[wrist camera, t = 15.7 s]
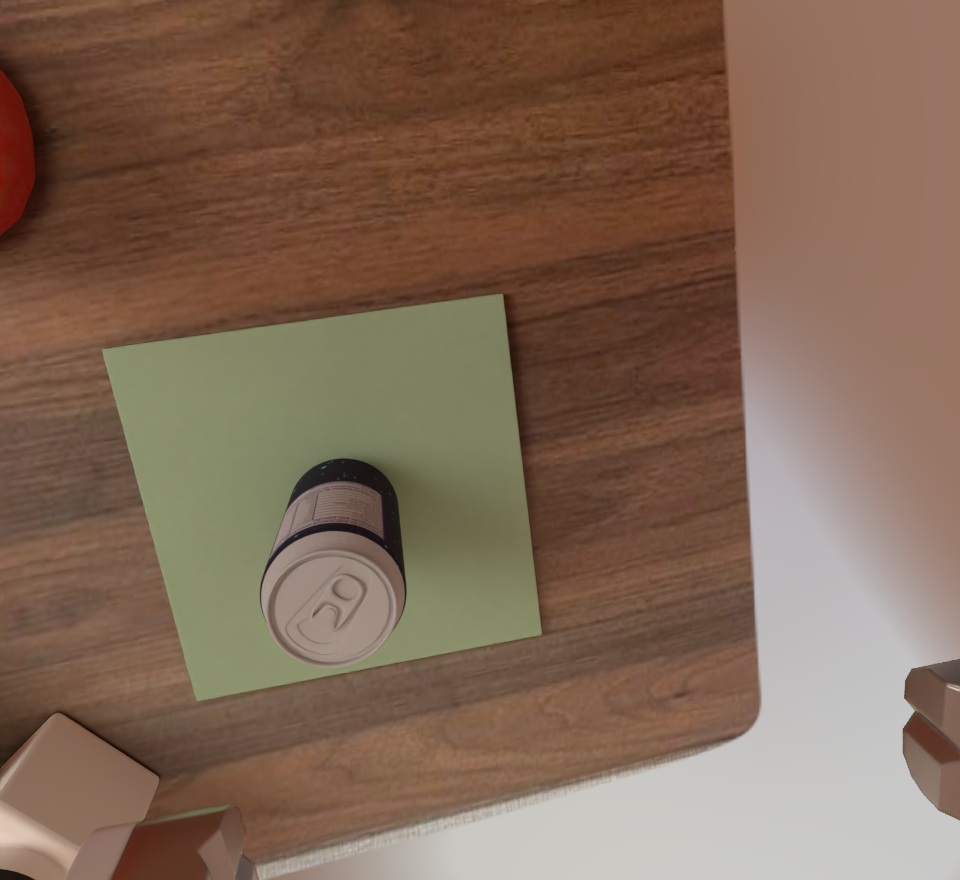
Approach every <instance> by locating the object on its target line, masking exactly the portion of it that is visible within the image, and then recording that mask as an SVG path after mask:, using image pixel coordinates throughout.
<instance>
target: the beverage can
mask: <svg viewBox="0 0 960 880" xmlns="http://www.w3.org/2000/svg"><path fill="white" fill-rule="evenodd" d="M406 596H407V588H406V577H405V567H404V557H403V547H402V537H401V527H400V517H399V507H398V499H397V495H396V492H395V490H394V488H393V486H392V484H391V483H390V481H389V480H388V479H387V477H386V476H385V475H384V474H383V473H382V472H381V471H379V470H378V469H377V468H375V467H374V466H372V465H370V464H368V463H365V462H363V461H359V460H355V459H347V458H340V459H333V460H328V461H325V462H322V463H320V464H318V465H316V466H314V467H313V468H311V469H310V470H308V471H307V472H306V473H305V474H304V475H303V476H302V477H301V478H300V479H299V481H298V482H297V484H296V485H295V487H294V489H293V491H292V494H291V497H290V500H289V502H288V505H287V508H286V511H285V514H284V517H283V519H282V522H281V525H280V528H279V531H278V534H277V537H276V539H275V542H274V545H273V548H272V551H271V554H270V557H269V559H268V562H267V565H266V568H265V571H264V574H263V577H262V580H261V585H260V604H261V609H262V613H263V616H264V618H265V620H266V622H267V625H268V628H269V631H270V633H271V635H272V637H273V638H274V640H275V641H276V643H277V644H278V645H279V647H280V648H281V649H282V650H283V651H285V652H286V653H287V654H288V655H290V656H291V657H293V658H294V659H296V660H298V661H300V662H302V663H304V664H307V665H311V666H314V667H321V668H339V667H345V666H349V665H353V664H356V663H358V662H360V661H363V660H365V659H366V658H368V657H369V656H371V655H373V654H374V653H375V652H376V651H377V650H379V649H380V648H381V646H382V645H383V644H384V643H385V642H386V641H387V639H388V638H389V636H390V634H391V633H392V631H393V630H394V629H395V627H396V626H397V624H398V622H399V620H400V619H401V616H402V614H403V611H404V608H405V604H406Z"/></svg>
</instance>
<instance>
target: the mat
mask: <svg viewBox="0 0 960 880" xmlns="http://www.w3.org/2000/svg"><path fill="white" fill-rule="evenodd" d="M102 352H103V356H104V360H105V364H106V367H107V371H108V375H109V378H110V382H111V386H112V390H113V393H114V397H115V401H116V404H117V408H118V412H119V416H120V419H121V423H122V427H123V430H124V434H125V438H126V442H127V445H128V449H129V453H130V456H131V460H132V464H133V468H134V471H135V475H136V479H137V482H138V486H139V490H140V494H141V497H142V501H143V505H144V508H145V512H146V516H147V520H148V523H149V527H150V531H151V534H152V538H153V542H154V546H155V549H156V553H157V557H158V560H159V564H160V568H161V572H162V575H163V579H164V583H165V586H166V590H167V594H168V598H169V601H170V605H171V609H172V612H173V616H174V620H175V624H176V627H177V631H178V635H179V638H180V642H181V646H182V650H183V653H184V657H185V661H186V664H187V668H188V672H189V676H190V679H191V683H192V687H193V690H194V694H195V698H196V701H201V700H206V699H212V698H217V697H222V696H227V695H232V694H238V693H243V692H248V691H253V690H258V689H263V688H269V687H274V686H279V685H284V684H289V683H294V682H300V681H305V680H310V679H315V678H320V677H326V676H331V675H336V674H341V673H346V672H351V671H357V670H362V669H367V668H372V667H377V666H382V665H388V664H393V663H398V662H403V661H408V660H414V659H419V658H424V657H429V656H434V655H439V654H445V653H450V652H455V651H460V650H465V649H470V648H476V647H481V646H486V645H491V644H496V643H501V642H507V641H512V640H517V639H522V638H527V637H533V636H538V635H542V629H541V620H540V612H539V603H538V594H537V585H536V577H535V568H534V559H533V551H532V542H531V533H530V524H529V516H528V507H527V498H526V489H525V481H524V472H523V463H522V455H521V446H520V437H519V428H518V420H517V411H516V402H515V393H514V385H513V376H512V367H511V359H510V350H509V341H508V332H507V324H506V315H505V306H504V297H503V294H501V293H499V294H492V295H485V296H478V297H470V298H463V299H456V300H449V301H441V302H434V303H427V304H420V305H413V306H405V307H398V308H391V309H384V310H376V311H369V312H362V313H355V314H347V315H340V316H333V317H326V318H318V319H311V320H304V321H297V322H290V323H282V324H275V325H268V326H261V327H253V328H246V329H239V330H232V331H224V332H217V333H210V334H203V335H196V336H188V337H181V338H174V339H167V340H159V341H152V342H145V343H138V344H130V345H123V346H116V347H109V348H104V349H102ZM340 458H347V459H355V460H359V461H363V462H365V463H368V464H370V465H372V466H374V467H375V468H377V469H378V470H379V471H381V472H382V473H383V474H384V475H385V476H386V477H387V479H388V480H389V481H390V483H391V484H392V486H393V488H394V490H395V492H396V495H397V499H398V507H399V517H400V527H401V537H402V547H403V557H404V567H405V577H406V588H407V596H406V604H405V608H404V611H403V614H402V616H401V619H400V620H399V622H398V624H397V626H396V627H395V629H394V630H393V631H392V633H391V634H390V636H389V638H388V639H387V641H386V642H385V643H384V644H383V645H382V646H381V648H380V649H379V650H377V651H376V652H375V653H374V654H373V655H371V656H369V657H368V658H366V659H365V660H363V661H360V662H358V663H356V664H353V665H349V666H345V667H339V668H321V667H314V666H311V665H307V664H304V663H302V662H300V661H298V660H296V659H294V658H293V657H291V656H290V655H288V654H287V653H286V652H285V651H283V650H282V649H281V648H280V647H279V645H278V644H277V643H276V641H275V640H274V638H273V637H272V635H271V633H270V631H269V628H268V625H267V622H266V620H265V618H264V616H263V613H262V609H261V604H260V585H261V580H262V577H263V574H264V571H265V568H266V565H267V562H268V559H269V557H270V554H271V551H272V548H273V545H274V542H275V539H276V537H277V534H278V531H279V528H280V525H281V522H282V519H283V517H284V514H285V511H286V508H287V505H288V502H289V500H290V497H291V494H292V491H293V489H294V487H295V485H296V484H297V482H298V481H299V479H300V478H301V477H302V476H303V475H304V474H305V473H306V472H307V471H308V470H310V469H311V468H313V467H314V466H316V465H318V464H320V463H322V462H325V461H328V460H333V459H340Z"/></svg>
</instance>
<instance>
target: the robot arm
mask: <svg viewBox="0 0 960 880" xmlns="http://www.w3.org/2000/svg"><path fill="white" fill-rule="evenodd" d="M904 698H905V699H906V701H907V702H908V703H909V704H910V705H911V707H912V708H913V709H914V710H915V712H914V713H913V715H912V716H911V718H910V719H909V721H908V722H907V724H906V725H905V727H904V728H903V754H904V757H905V760H906V763H907V765H908V768H909V771H910V774H911V776H912V778H913V779H914V781H915V782H916V784H917V785H918V787H919V789H920V790H921V791H922V793H923V794H924V795H925V796H926V797H927V799H929V801H930V802H931V803H932V804H933V805H934V806H935V807H936V808H937V809H938V810H939V811H941V812H943V813H945V814H947V815H950V816H952V817H954V818H956V819H958V820H960V659H957V660H952V661H948V662H943V663H938V664H934V665H928V666H923V667H918V668H914V669H911V671H910V673H909V675H908V676H907V678H906V680H905V695H904ZM245 834H246V830H245V826H244V823H243V820H242V817H241V814H240V811H239V808H238V807H236V806H234V805H233V804H228V805H223V806H217V807H211V808H205V809H200V810H194V811H188V812H182V813H177V814H171V815H165V816H159V817H154V818H148V819H143V820H142V821H135V822H130V823H124V824H118V825H113V826H107V827H102V828H97V829H96V830H95V831H93V832H92V833H91V834H90V835H88V836H87V837H86V839H85V840H84V841H83V843H82V845H81V847H80V849H79V851H78V853H77V855H76V857H75V859H74V861H73V863H72V865H71V867H70V869H69V871H68V872H67V874H66V876H65V878H64V880H259V878H258V874H257V870H256V866H255V863H254V862H253V861H251V860H250V859H248V858H247V857H246V856H244V855H243V854H241V851H242V847H243V843H244V838H245Z"/></svg>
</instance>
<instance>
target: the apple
mask: <svg viewBox="0 0 960 880" xmlns="http://www.w3.org/2000/svg"><path fill="white" fill-rule="evenodd" d="M34 182H35V156H34V147H33V137H32V130H31V127H30V124H29V121H28V117H27V114H26V111H25V107H24V104H23V101H22V98H21V97H20V95H19V93H18V92H17V90H16V89H15V87H14V86H13V85H12V83H11V82H10V81H9V79H8V78H7V77H6V76H5V74H4V73H3V72H2V70H1V69H0V235H1V234H2V233H3V232H5V231H6V230H7V229H8V228H9V227H11V226H12V225H13V224H14V223H15V222H17V221H18V220H19V219H20V218H21V216H22V213H23V211H24V208H25V206H26V203H27V201H28V198H29V196H30V193H31V191H32V188H33V185H34Z"/></svg>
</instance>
